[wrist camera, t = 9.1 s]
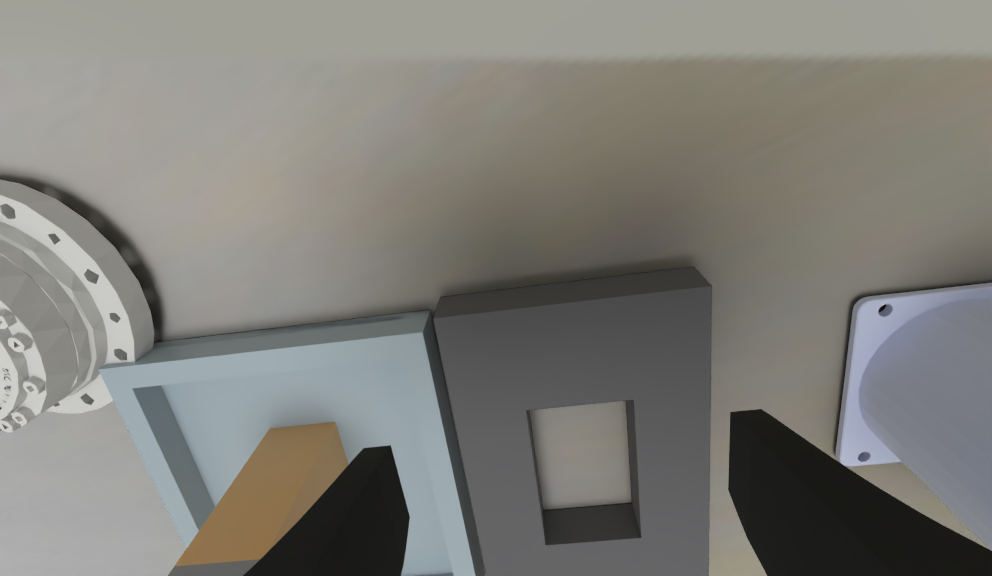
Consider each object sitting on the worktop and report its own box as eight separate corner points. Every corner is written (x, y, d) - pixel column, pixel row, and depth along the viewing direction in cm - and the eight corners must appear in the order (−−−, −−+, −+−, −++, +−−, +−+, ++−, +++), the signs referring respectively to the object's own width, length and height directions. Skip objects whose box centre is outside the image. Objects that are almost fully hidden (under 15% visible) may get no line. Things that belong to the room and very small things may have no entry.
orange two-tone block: (335, 421, 23) (249, 588, 15) (367, 525, 25) (306, 714, 18) (269, 428, 23) (154, 595, 16) (307, 530, 25) (221, 718, 18)
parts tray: (430, 309, 21) (422, 332, 20) (485, 574, 27) (483, 611, 25) (132, 345, 22) (98, 369, 21) (244, 592, 28) (225, 629, 26)
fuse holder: (693, 266, 20) (711, 286, 18) (694, 566, 26) (708, 603, 24) (440, 297, 21) (433, 318, 19) (496, 580, 27) (494, 617, 25)
